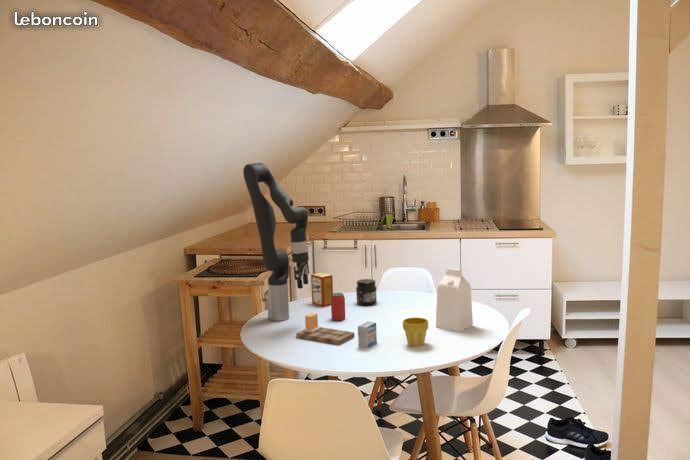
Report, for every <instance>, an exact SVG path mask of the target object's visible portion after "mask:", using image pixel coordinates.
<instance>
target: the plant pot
mask: <svg viewBox="0 0 690 460" xmlns="http://www.w3.org/2000/svg"><path fill="white" fill-rule="evenodd" d="M402 329H403V330H404V333H405V338H406V341H407V344H408V345H409V346H411V347H421V346H423V345H424V344H425V341H426V335H427V331H428V329H429V320H428V319H427V318H424V317H418V316H417V317H416V316H415V317H406V318H404V319H403V320H402Z"/></svg>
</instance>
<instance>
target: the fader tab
mask: <svg viewBox="0 0 690 460" xmlns="http://www.w3.org/2000/svg"><path fill="white" fill-rule="evenodd" d="M304 319H305V320H304V322H305V323H304V324H305V325H304V326H305V328H303V329H302V330H303V331H304V332H310V333H313V332H315V331H318V330H320V327H321V326H318V325H319V324H318V321H319V320H318V319H319V317H318V313H312V312H311V313H310V314H306V315H305V316H304Z"/></svg>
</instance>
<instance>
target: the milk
mask: <svg viewBox="0 0 690 460" xmlns="http://www.w3.org/2000/svg"><path fill="white" fill-rule="evenodd" d="M436 293H437V294H436V309H435V310H436V311H435V312H436V314H435V315H436V316H435V328H437V327H440V328H439V329H442V328H445V329H444V330H446V329H449V330H448V331H451V330H454V331H453V332H456V331H460V332H462V331H461V330H463V329H465V328H467V327H469V328H471V327H470V326H472V325H473V326H474V322H473V321H474V320H473V305H472V304H473V303H472V287H471V284H470V282H469V281H468V280H467V279H466V278H465V277H464V276H463V273H462V269H456V268H452V267H451V268H450V267H449V268H447V269H446V273H445V274H444V276H443V277H442V279H441V280H440V282H439V284H437V291H436ZM473 326H472V327H473ZM467 329H468V328H467ZM465 330H466V329H465ZM463 331H464V330H463Z"/></svg>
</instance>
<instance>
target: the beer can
mask: <svg viewBox="0 0 690 460" xmlns="http://www.w3.org/2000/svg"><path fill="white" fill-rule="evenodd" d="M330 308H331V309H330V311H331V319H332V321H338V322H339V321H344V320H346V298H345V295H344V293H342V292H335V293H334V292H333V294H332V297H331V306H330Z"/></svg>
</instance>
